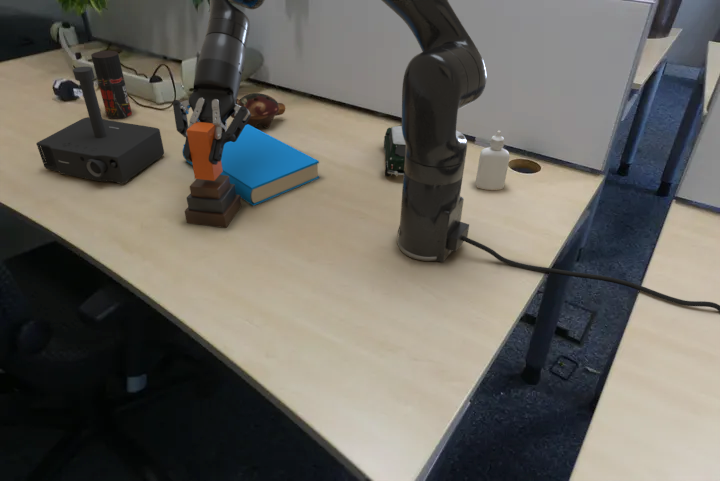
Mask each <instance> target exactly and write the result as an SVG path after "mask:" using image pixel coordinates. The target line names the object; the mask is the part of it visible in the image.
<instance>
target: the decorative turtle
mask: <svg viewBox="0 0 720 481" xmlns="http://www.w3.org/2000/svg"><path fill="white" fill-rule="evenodd" d="M237 103H238V105H239V106H241V107H242V106H245V107H246V108H247V109H248V110H249V112H250V113H251V117H250V119H249V120H248V122H247V124H249V125H251V126H252V127H254V128H256V127H257V126H258V125H261V126H262V127H264V128H266V129H268V128H269V127H270V126H271V124H272V122H273V119H274V118H275V117H277V116H282V115H284V113H285V112H286V105H285V104H284V103H282V102H278V101H277V100H276V99H275V98H274V97H272V96H270V95H268V94H265V93H264V94H263V93H258V92H257V93H256V92H253V93H249V94H245V95H244V96H242V97H241V98H237ZM234 113H235V112H234ZM234 113H233V114H232V115H231V116H230V117H231V118H232V119H234V117H235V116H234ZM247 124H246V125H247Z"/></svg>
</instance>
